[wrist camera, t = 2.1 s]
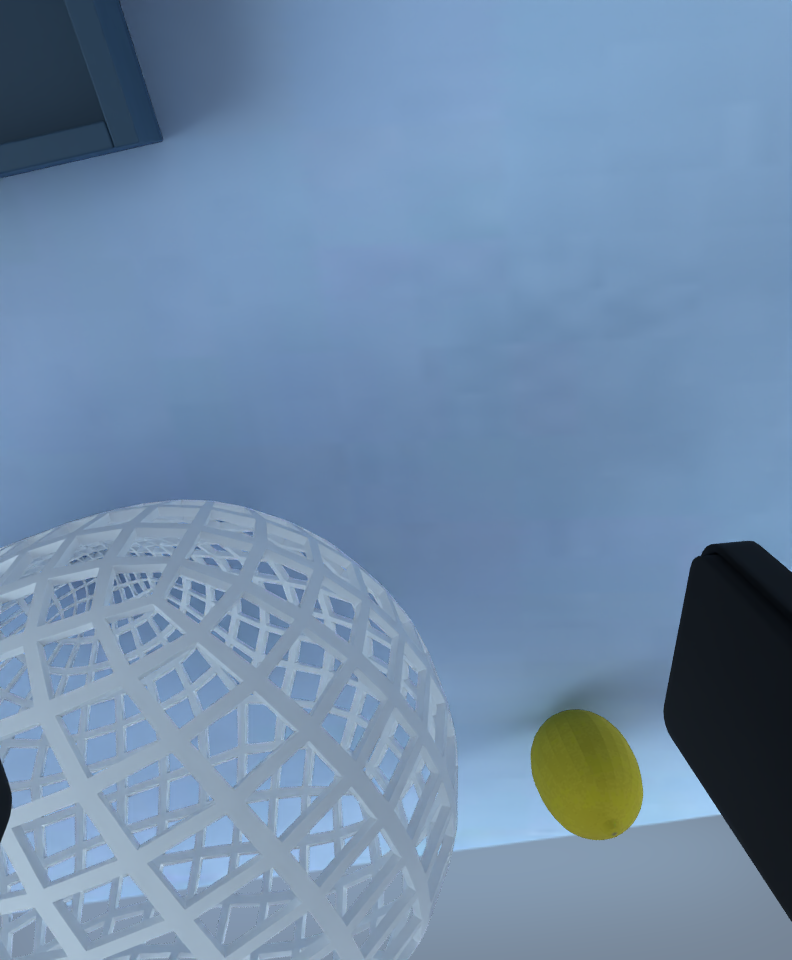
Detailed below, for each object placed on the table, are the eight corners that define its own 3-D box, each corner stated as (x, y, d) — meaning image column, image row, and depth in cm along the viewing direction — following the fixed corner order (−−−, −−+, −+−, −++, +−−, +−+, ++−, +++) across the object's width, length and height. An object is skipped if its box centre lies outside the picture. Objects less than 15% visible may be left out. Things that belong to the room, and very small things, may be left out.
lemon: (506, 752, 44) (550, 874, 36) (524, 680, 41) (574, 794, 34) (592, 751, 45) (651, 870, 37) (614, 680, 42) (682, 792, 35)
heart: (319, 307, 31) (384, 628, 11) (426, 589, 38) (586, 1100, 18) (-292, 533, 31) (-1304, 1235, 11) (-75, 769, 38) (-465, 1462, 18)
